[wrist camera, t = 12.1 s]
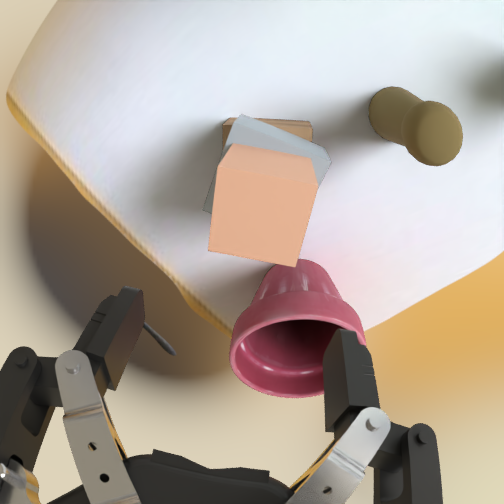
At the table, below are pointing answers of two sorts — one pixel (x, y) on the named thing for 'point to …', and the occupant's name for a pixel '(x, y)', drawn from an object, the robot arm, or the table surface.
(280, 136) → the top block
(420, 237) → the table surface
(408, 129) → the cork
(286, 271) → the plant pot
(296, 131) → the bottom block
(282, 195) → the cube
